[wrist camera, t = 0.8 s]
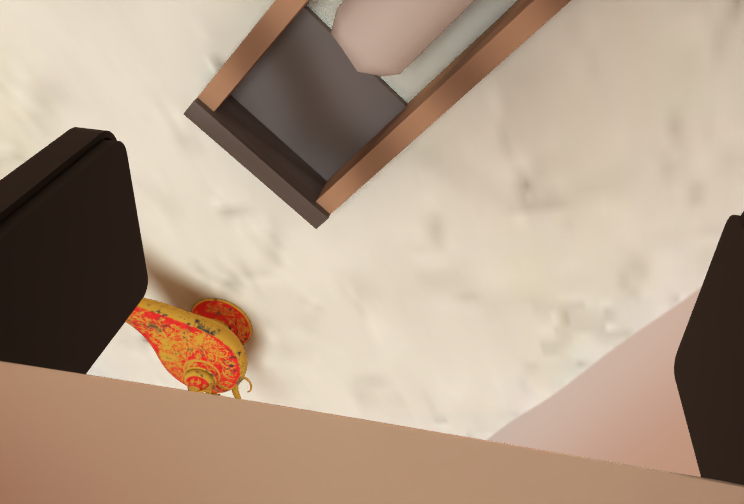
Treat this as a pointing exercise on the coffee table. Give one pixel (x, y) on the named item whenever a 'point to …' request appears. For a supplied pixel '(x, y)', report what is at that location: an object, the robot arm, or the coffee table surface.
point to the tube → (391, 31)
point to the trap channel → (333, 103)
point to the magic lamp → (198, 342)
